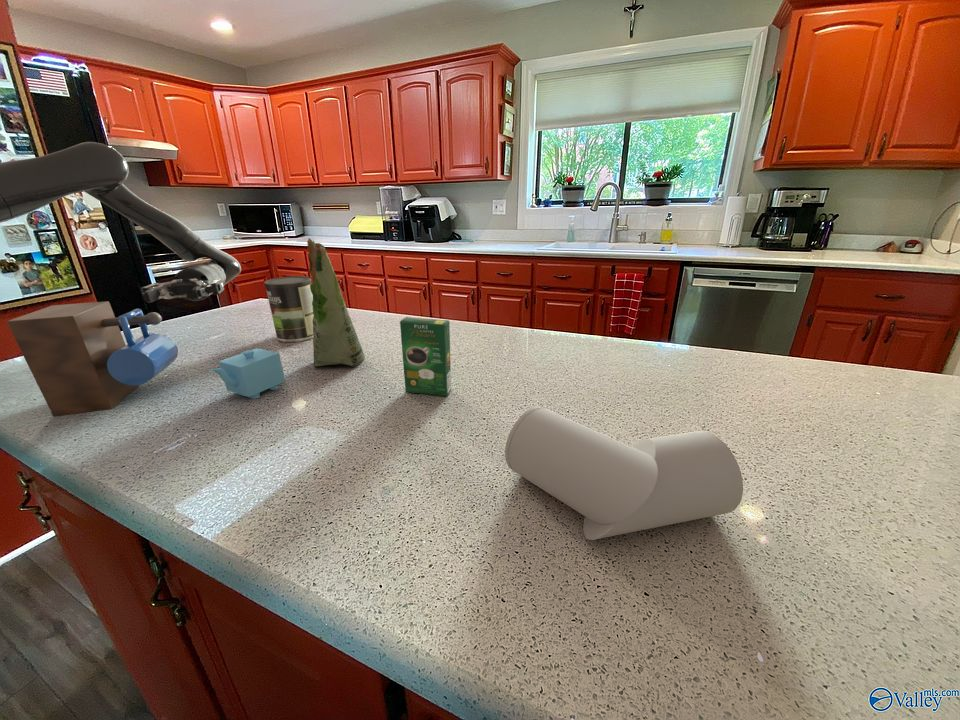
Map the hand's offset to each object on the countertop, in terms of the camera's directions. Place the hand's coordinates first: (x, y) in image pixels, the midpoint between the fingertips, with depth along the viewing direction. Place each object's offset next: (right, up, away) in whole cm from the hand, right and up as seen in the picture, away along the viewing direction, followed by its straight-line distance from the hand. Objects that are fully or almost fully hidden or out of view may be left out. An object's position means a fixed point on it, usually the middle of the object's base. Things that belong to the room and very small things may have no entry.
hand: (171, 295), depth 81 cm
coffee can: (+18, -7, +19) cm, 27 cm away
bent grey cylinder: (+77, -29, -37) cm, 90 cm away
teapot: (+23, -19, -11) cm, 32 cm away
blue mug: (+6, -12, -17) cm, 22 cm away
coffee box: (+55, -19, -12) cm, 59 cm away
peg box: (+1, -20, -11) cm, 22 cm away
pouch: (+34, -14, +2) cm, 36 cm away
